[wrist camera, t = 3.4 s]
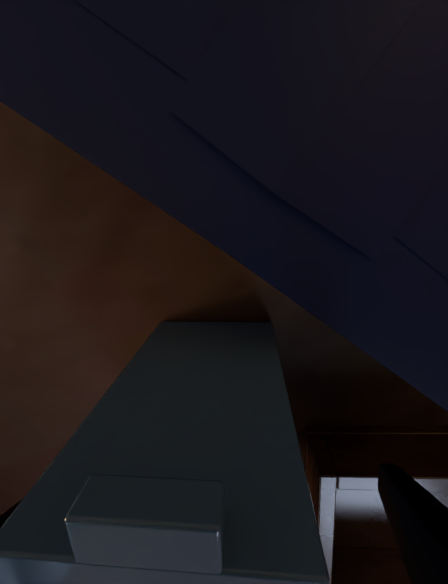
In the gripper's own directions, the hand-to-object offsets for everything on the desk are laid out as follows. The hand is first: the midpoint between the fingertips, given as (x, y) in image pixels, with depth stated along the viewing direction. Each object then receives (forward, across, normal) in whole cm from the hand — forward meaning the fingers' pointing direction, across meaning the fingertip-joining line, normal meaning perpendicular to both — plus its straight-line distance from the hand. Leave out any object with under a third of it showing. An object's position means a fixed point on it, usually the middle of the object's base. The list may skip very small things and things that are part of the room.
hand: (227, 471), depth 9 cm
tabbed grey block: (+6, +1, +2) cm, 6 cm away
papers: (+6, -9, -18) cm, 21 cm away
